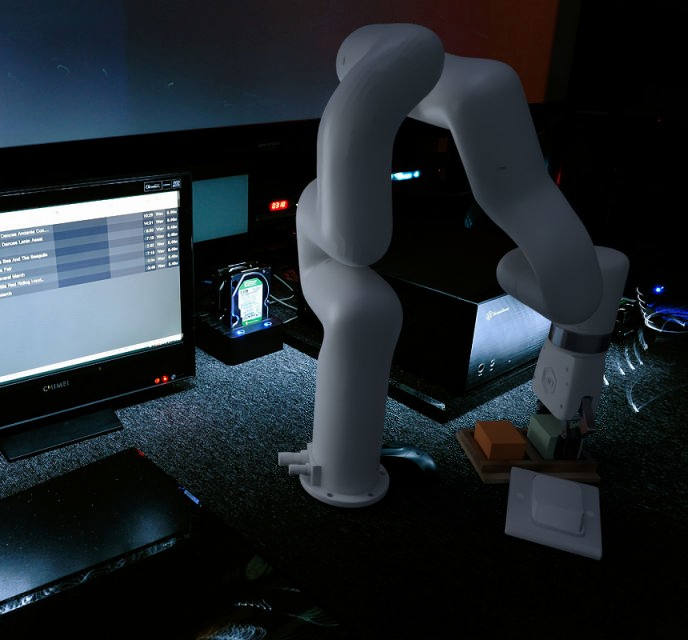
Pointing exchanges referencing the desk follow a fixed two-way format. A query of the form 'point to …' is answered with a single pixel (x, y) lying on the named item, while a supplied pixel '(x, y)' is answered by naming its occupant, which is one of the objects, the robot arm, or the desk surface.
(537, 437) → the green rectangular block
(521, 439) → the orange block
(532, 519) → the light switch
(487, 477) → the brown wooden tray
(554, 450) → the robot arm
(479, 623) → the desk surface
